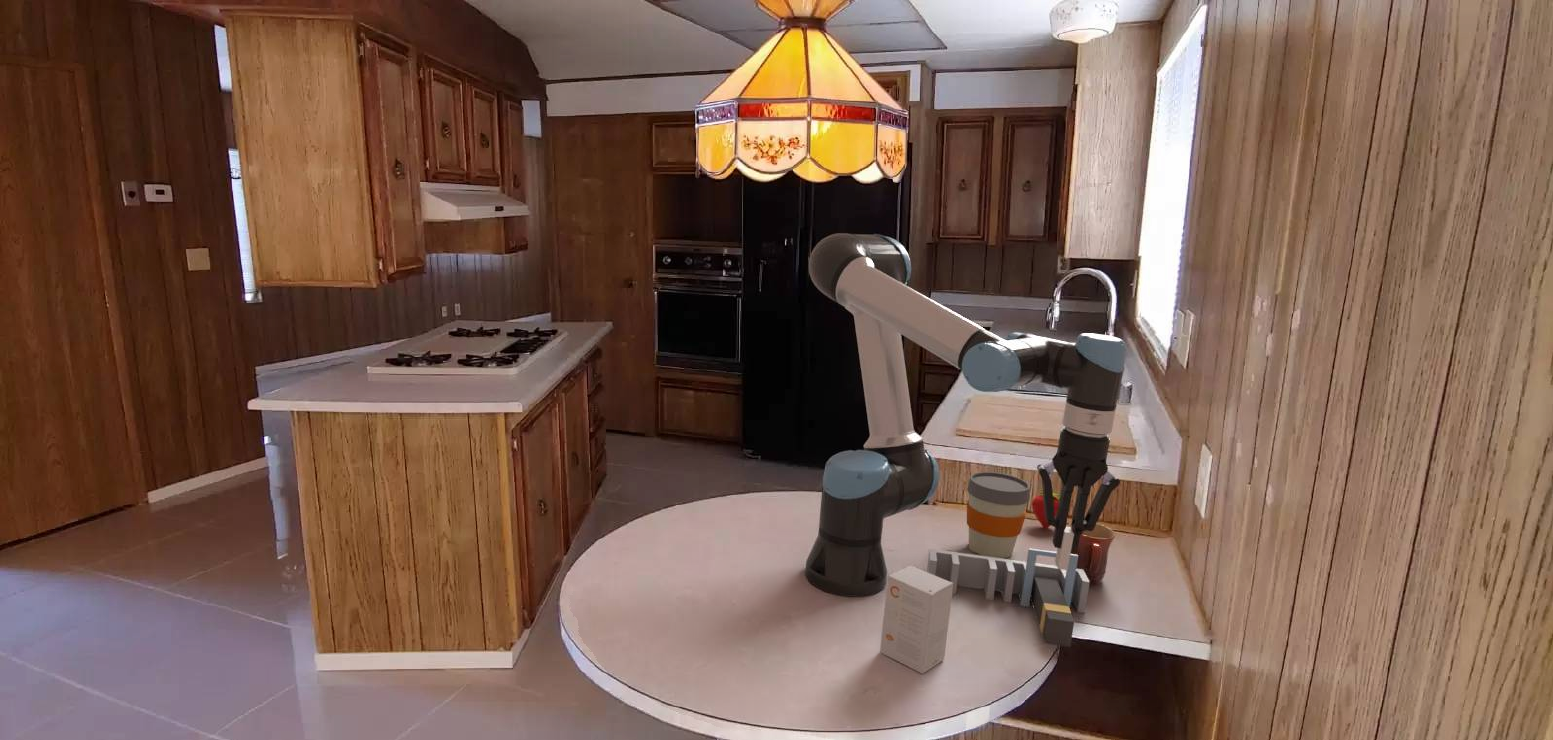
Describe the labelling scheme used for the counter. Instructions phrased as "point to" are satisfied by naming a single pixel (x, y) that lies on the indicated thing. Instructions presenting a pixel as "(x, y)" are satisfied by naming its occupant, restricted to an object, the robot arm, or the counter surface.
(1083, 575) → the grey slotted rack
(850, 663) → the counter surface
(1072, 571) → the blue bezel
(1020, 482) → the reusable coffee cup
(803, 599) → the counter surface
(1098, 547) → the mug
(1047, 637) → the grey banded bar
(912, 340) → the robot arm
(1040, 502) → the strawberry
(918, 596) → the small box
